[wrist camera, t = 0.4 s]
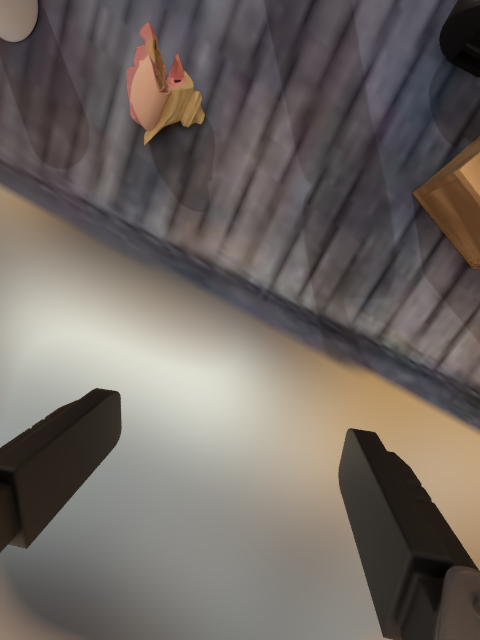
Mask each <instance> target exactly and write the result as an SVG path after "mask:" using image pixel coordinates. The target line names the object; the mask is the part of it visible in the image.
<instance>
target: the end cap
mask: <svg viewBox="0 0 480 640" xmlns="http://www.w3.org/2000/svg"><path fill="white" fill-rule="evenodd" d="M439 41H440V48H441V51H442V52H443V54H444V55H445V57H446V58H447V59H448V60H449V61H450V62H451V63H453V64H455V65H456V66H458V67H460V68H462V69H464V70H466V71H468V72H469V73H471V74H473V75H475V76H477V77H480V0H458V1H457V3H456V5H455V7H454V8H453V10H452V12H451V13H450V15H449V17H448V18H447V20H446V22H445V24H444V25H443V27H442V30H441V33H440V39H439Z"/></svg>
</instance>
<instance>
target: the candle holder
mask: <svg viewBox="0 0 480 640" xmlns="http://www.w3.org/2000/svg"><path fill="white" fill-rule="evenodd" d="M37 16H38V0H0V38H1V39H3V40H5V41H8V42H19V41H22V40H24V39H25V38H27V37H28V36H29V35H30V33H31V32H32V30H33V29H34V27H35V24H36V21H37Z"/></svg>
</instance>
